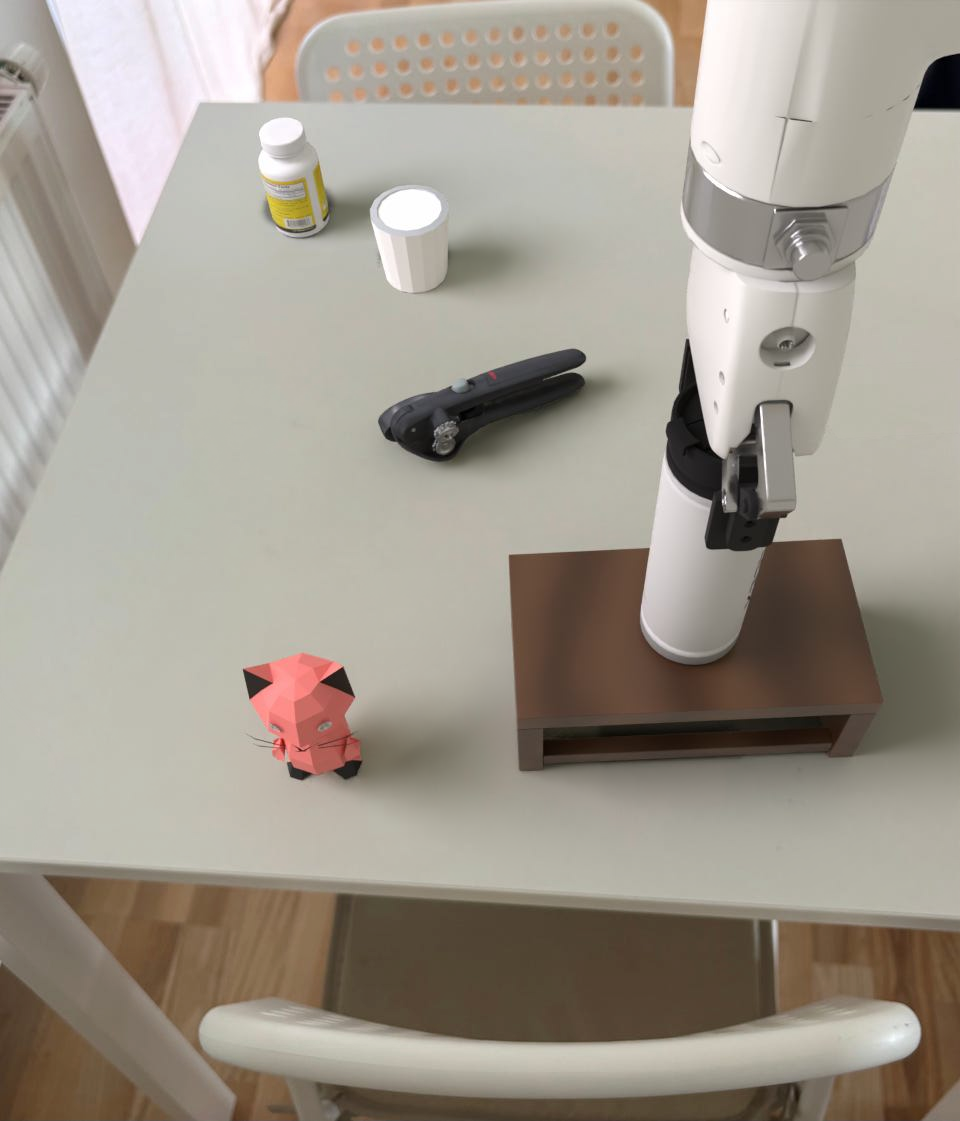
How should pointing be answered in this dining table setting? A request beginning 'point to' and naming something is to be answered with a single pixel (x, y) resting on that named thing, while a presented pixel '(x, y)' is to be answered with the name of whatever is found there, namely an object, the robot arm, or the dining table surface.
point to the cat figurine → (306, 714)
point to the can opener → (479, 403)
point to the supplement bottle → (292, 178)
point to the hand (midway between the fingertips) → (722, 465)
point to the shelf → (680, 689)
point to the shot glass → (412, 236)
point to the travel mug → (694, 548)
